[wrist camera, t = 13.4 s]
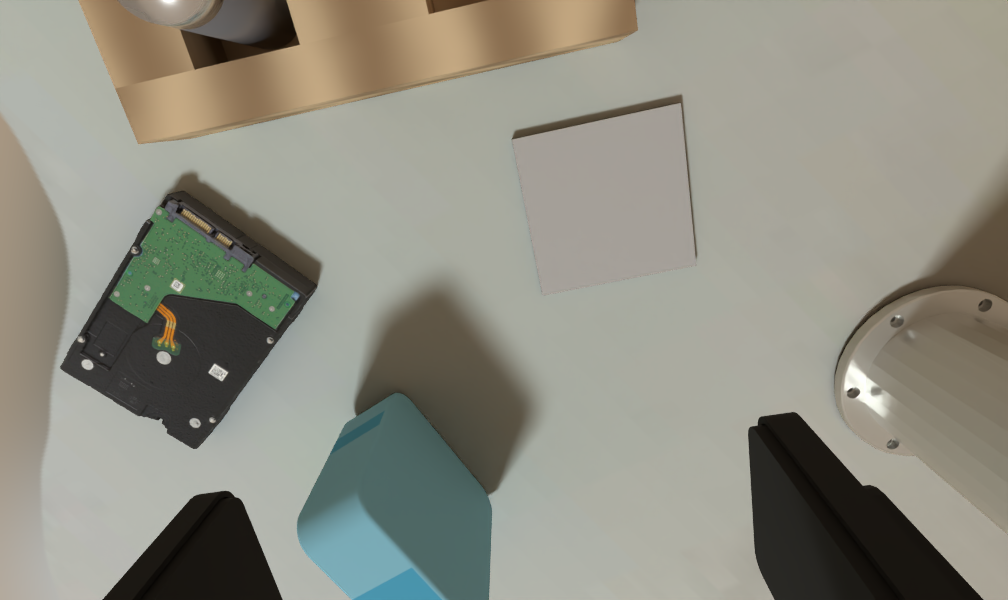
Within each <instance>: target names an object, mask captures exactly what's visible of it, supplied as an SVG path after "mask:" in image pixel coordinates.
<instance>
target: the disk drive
mask: <svg viewBox="0 0 1008 600" xmlns="http://www.w3.org/2000/svg"><path fill="white" fill-rule="evenodd" d="M316 289H317V285H316V284H315V283H313V282H312V281H311V280H309V279H308V278H306V277H305V276H303V275H302V274H300V273H299V272H297V271H296V270H295V269H294V268H292V267H291V266H289V265H288V264H287V263H285V262H284V261H282V260H281V259H280V258H278V257H277V256H275V255H274V254H273V253H271V252H270V251H268V250H267V249H265V248H264V247H263V246H261V245H260V244H258V243H256V242H255V241H253V240H252V239H251V238H249V237H248V236H246V235H245V234H244V233H243V232H241V231H240V230H239V229H237V228H236V227H234V226H233V225H232V224H230V223H229V222H227V221H226V220H224V219H223V218H222V217H220V216H219V215H217V214H216V213H214V212H213V211H212V210H210V209H209V208H207V207H206V206H204V205H203V204H202V203H200V202H199V201H197V200H196V199H195V198H193V197H192V196H191V195H189V194H188V193H186V192H185V191H181V192H176V193H172V194H168V195H167V196H166V197H165V199H164V201H163V203H162V204H161V205H160V206H158V207H157V208H156V210H155V212H154V214H153V215H152V217H151V219H148V220H146V222H145V223H144V225H143V226H142V228H141V229H140V232H139V233H138V235H137V237H136V240H135V242H134V243H133V245H132V247H131V248H130V250H129V252H128V253H127V255H126V257H125V258H124V260H123V262H122V263H121V264H120V267H119V268H118V270H117V271H116V273H115V274H114V276H113V278H112V280H111V282H110V283H109V285H108V287H107V288H106V290H105V292H104V293H103V295H102V297H101V299H100V300H99V302H98V303H97V305H96V307H95V309H94V310H93V312H92V314H91V315H90V317H89V319H88V321H87V322H86V324H85V325H84V327H83V329H82V330H81V332H80V334H79V335H78V337H77V338H76V340H75V341H74V343H73V344H72V345H71V347H70V349H69V351H68V353H67V356H66V358H65V359H64V362H63V363H62V365H61V366H60V368H61V369H62V370H63V371H64V372H66V373H68V374H69V375H71V376H73V377H74V378H76V379H78V380H79V381H81V382H83V383H84V384H86V385H88V386H91V387H92V388H93V389H95V390H97V391H98V392H100V393H102V394H103V395H105V396H106V397H108V398H110V399H112V400H113V401H114V402H116V403H117V404H119V405H120V406H123V407H125V408H126V409H127V410H129V411H131V412H132V413H134V414H136V415H137V416H143V417H148V418H151V419H155V420H159V419H160V418H162V419H163V421H162V424H163V425H165V428H167V434H169V435H171V436H173V437H174V438H176V439H178V440H179V441H181V442H183V443H184V444H186V445H188V446H189V447H191V448H193V449H197V448H198V447H199V446H200V445H201V444H202V443H203V442H204V441H205V440H206V438H207V437H208V436H209V435H210V434H211V433H212V432H213V430H214V429H215V427H216V426H217V425H218V424H219V423H220V422H221V420H222V419H223V417H224V416H225V415H226V414H227V412H228V411H229V409H230V406H231V405H232V404H233V402H234V401H235V400H236V398H237V396H238V395H239V394H240V392H241V391H242V390H243V388H244V387H245V386H246V384H247V383H248V381H249V380H250V379H251V378H252V376H253V374H254V373H255V372H256V370H257V369H258V368H259V367H260V365H261V364H262V362H263V361H264V360H265V358H266V357H267V356H268V354H269V352H270V351H271V350H272V349H273V347H274V346H275V344H276V343H277V342H278V340H279V339H280V338H281V336H282V335H283V334H284V332H285V331H286V329H287V328H288V327H289V326H290V324H291V323H292V322H294V320H295V319H296V318H297V317H298V315H299V314H300V312H301V311H302V309H303V306H304V305H305V304H306V302H307V301H308V300H309V298H310V297H311V296H312V295H313V293H314V292H315V290H316Z"/></svg>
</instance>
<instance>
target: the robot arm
mask: <svg viewBox="0 0 1008 600" xmlns="http://www.w3.org/2000/svg"><path fill="white" fill-rule="evenodd" d="M834 394H835V399H836V405H837V408H838V410H839V412H840V414H841V417H842V419H843V420H844V421H845V423H846V424H847V425H848V426H849V428H850V429H851V430H852V431H853V432H854V433H855V434H856V435H858V436H859V437H860V438H861V439H862V440H863V441H864V442H866V443H868V444H869V445H871V446H872V447H874V448H876V449H878V450H881V451H884V452H886V453H890V454H896V455H903V456H916V457H918V458H919V459H920V460H921V461H922V462H923V463H925V464H926V465H927V466H928V467H929V468H930V469H932V470H933V471H934V472H935V473H936V474H937V475H939V476H940V477H941V478H942V479H943V480H944V481H946V482H947V483H948V484H949V485H950V486H951V487H953V488H954V489H955V490H956V491H957V492H958V493H960V494H961V495H962V496H963V497H964V498H965V499H967V500H968V501H969V502H970V503H971V504H972V505H974V506H975V507H976V508H977V509H978V510H979V511H981V512H982V513H983V514H984V515H985V516H986V517H988V518H989V519H990V520H991V521H992V522H993V523H995V524H996V525H997V526H998V527H999V528H1000V529H1002V530H1003V531H1004V532H1005V533H1006V534H1007V535H1008V302H1007V301H1005V300H1003V299H1001V298H999V297H997V296H996V295H993V294H990V293H988V292H985V291H982V290H979V289H976V288H971V287H965V286H938V287H932V288H927V289H922V290H919V291H916V292H914V293H911V294H908V295H905V296H903V297H901V298H899V299H897V300H895V301H894V302H892V303H890V304H888V305H886V306H885V307H884V308H882V309H881V310H879V311H878V312H877V313H875V314H874V315H873V316H871V317H870V318H869V319H868V320H867V321H866V322H865V323H864V324H863V325H862V326H861V327H860V328H859V329H858V330H857V332H856V333H855V334H854V336H853V337H852V339H851V340H850V342H849V343H848V344H847V346H846V348H845V350H844V352H843V354H842V356H841V358H840V360H839V363H838V367H837V371H836V375H835V386H834ZM748 439H749V457H750V474H751V492H752V509H753V527H754V545H755V554H756V559H757V563H758V566H759V569H760V571H761V574H762V576H763V578H764V580H765V582H766V584H767V586H768V588H769V590H770V591H771V593H772V595H773V597H774V599H775V600H983V599H982V598H981V597H980V595H979V594H978V593H977V592H976V591H975V590H974V589H973V588H972V587H971V586H970V585H969V584H968V583H967V582H966V581H965V579H964V578H963V577H962V576H961V575H960V574H959V573H958V572H957V571H956V570H955V569H954V568H953V567H952V566H951V565H950V563H949V562H948V561H947V560H946V559H945V558H944V557H943V556H942V555H941V554H940V553H939V552H938V551H937V550H936V548H935V547H934V546H933V545H932V544H931V543H930V542H929V541H928V540H927V539H926V538H925V537H924V536H923V535H922V534H921V532H920V531H919V530H918V529H917V528H916V527H915V526H914V525H913V524H912V523H911V522H910V521H909V520H908V519H907V518H906V516H905V515H904V514H903V513H902V512H901V511H900V510H899V509H898V508H897V507H896V506H895V505H894V504H893V503H892V501H891V500H890V499H889V498H888V497H887V496H886V495H885V494H884V493H883V492H881V491H880V490H879V489H878V488H877V487H874V486H871V485H866V486H862V485H861V484H860V482H859V481H858V480H857V479H856V478H855V477H854V476H853V475H852V473H851V472H850V471H849V470H848V469H847V468H846V467H845V466H844V465H843V463H842V462H841V461H840V460H839V459H838V458H837V457H836V456H835V455H834V453H833V452H832V451H831V450H830V449H829V448H828V447H827V446H826V445H825V443H824V442H823V441H822V440H821V439H820V438H819V437H818V436H817V434H816V433H815V432H814V431H813V430H812V429H811V428H810V427H809V426H808V424H807V423H806V422H805V421H804V420H803V419H802V418H801V417H800V416H799V415H798V414H797V413H795V412H791V413H784V414H777V415H769V416H762V417H760V418H759V420H758V426H753V427H750V428H749V431H748ZM103 600H282V597H281V595H280V592H279V590H278V587H277V585H276V583H275V580H274V578H273V575H272V573H271V570H270V568H269V565H268V563H267V560H266V558H265V556H264V553H263V551H262V548H261V546H260V543H259V541H258V538H257V536H256V534H255V531H254V529H253V526H252V524H251V521H250V519H249V516H248V514H247V512H246V509H245V507H244V504H243V502H242V501H241V500H240V499H239V498H236V497H234V495H233V494H232V493H231V492H229V491H220V492H213V493H206V494H199V495H196V496H194V497H193V498H192V499H190V500H189V502H188V503H187V504H186V505H185V506H184V507H183V508H182V510H181V511H180V512H179V513H178V514H177V515H176V516H175V517H174V519H173V520H172V521H171V522H170V523H169V524H168V525H167V527H166V528H165V529H164V530H163V531H162V532H161V533H160V535H159V536H158V537H157V538H156V539H155V540H154V541H153V543H152V544H151V545H150V546H149V547H148V548H147V549H146V551H145V552H144V553H143V554H142V555H141V556H140V557H139V559H138V560H137V561H136V562H135V563H134V564H133V565H132V567H131V568H130V569H129V570H128V571H127V572H126V573H125V575H124V576H123V577H122V578H121V579H120V580H119V581H118V583H117V584H116V585H115V586H114V587H113V588H112V589H111V591H110V592H109V593H108V594H107V595H106V596H105V597H104V599H103Z"/></svg>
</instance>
